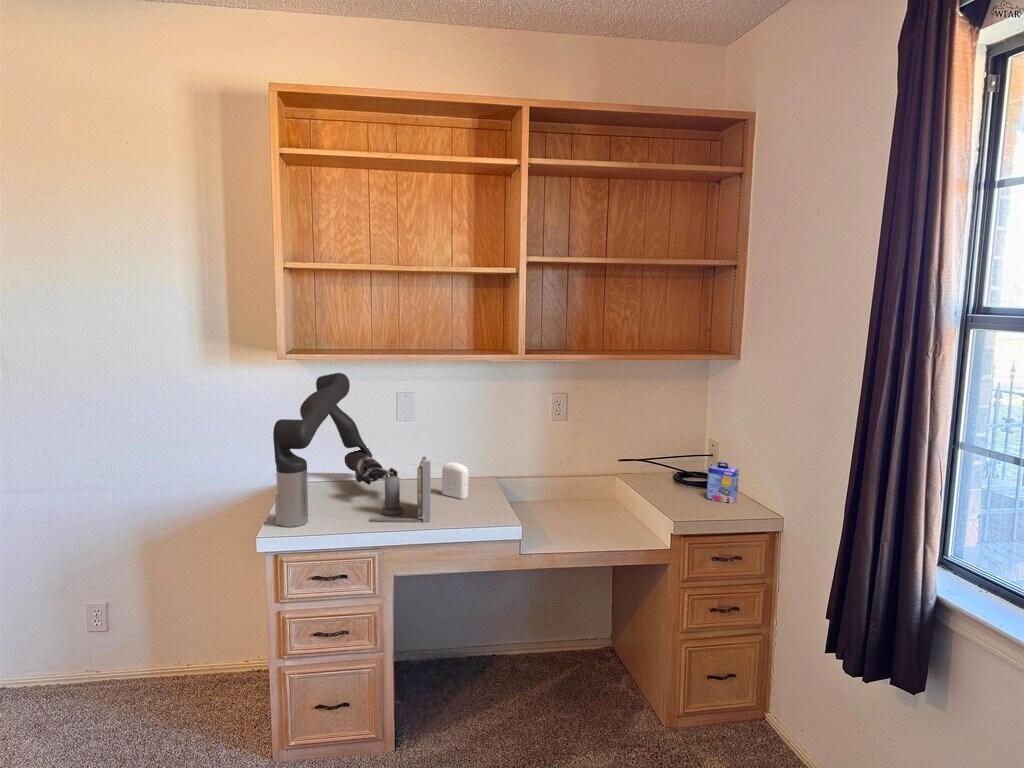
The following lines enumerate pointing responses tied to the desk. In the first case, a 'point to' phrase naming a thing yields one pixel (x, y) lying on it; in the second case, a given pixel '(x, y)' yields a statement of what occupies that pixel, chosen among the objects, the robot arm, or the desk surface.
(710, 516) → the desk surface
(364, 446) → the robot arm
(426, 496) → the wall frame
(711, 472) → the ink cartridge box
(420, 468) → the door
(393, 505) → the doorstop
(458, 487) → the photo printer
